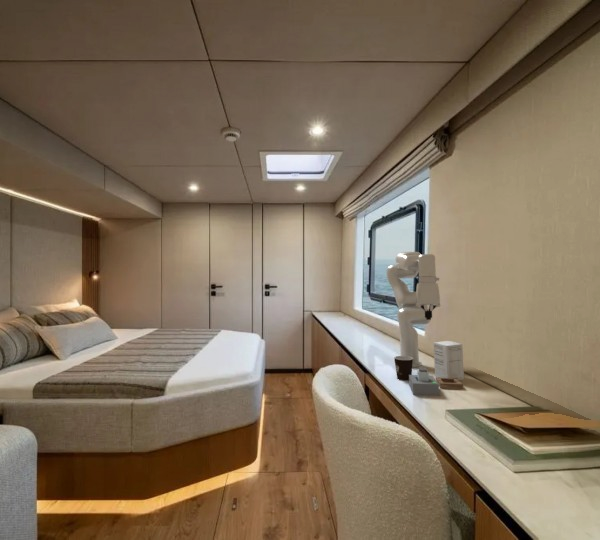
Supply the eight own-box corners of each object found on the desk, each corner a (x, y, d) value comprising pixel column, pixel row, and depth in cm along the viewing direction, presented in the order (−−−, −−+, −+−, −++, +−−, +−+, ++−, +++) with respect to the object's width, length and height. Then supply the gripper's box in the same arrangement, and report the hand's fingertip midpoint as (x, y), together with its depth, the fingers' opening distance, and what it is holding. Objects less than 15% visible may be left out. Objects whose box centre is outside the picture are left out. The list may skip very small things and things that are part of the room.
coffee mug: (415, 382, 148) (414, 360, 149) (395, 381, 150) (394, 359, 150) (411, 374, 160) (410, 354, 160) (393, 374, 161) (392, 354, 162)
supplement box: (450, 374, 158) (449, 340, 159) (464, 380, 149) (463, 343, 150) (434, 376, 156) (432, 341, 156) (447, 382, 147) (446, 345, 147)
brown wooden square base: (435, 382, 147) (435, 377, 147) (457, 383, 145) (456, 378, 145) (440, 389, 138) (440, 383, 138) (462, 390, 136) (462, 384, 136)
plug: (417, 387, 138) (417, 367, 139) (427, 388, 137) (426, 368, 138) (419, 391, 135) (418, 370, 135) (429, 391, 134) (428, 370, 134)
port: (409, 386, 143) (408, 373, 143) (433, 387, 141) (432, 374, 141) (413, 395, 131) (412, 382, 131) (439, 396, 129) (438, 383, 129)
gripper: (442, 279, 153) (443, 318, 152) (409, 280, 156) (410, 318, 156) (446, 280, 145) (447, 320, 145) (411, 280, 149) (412, 320, 148)
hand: (428, 319), depth 150 cm, fingers closed
